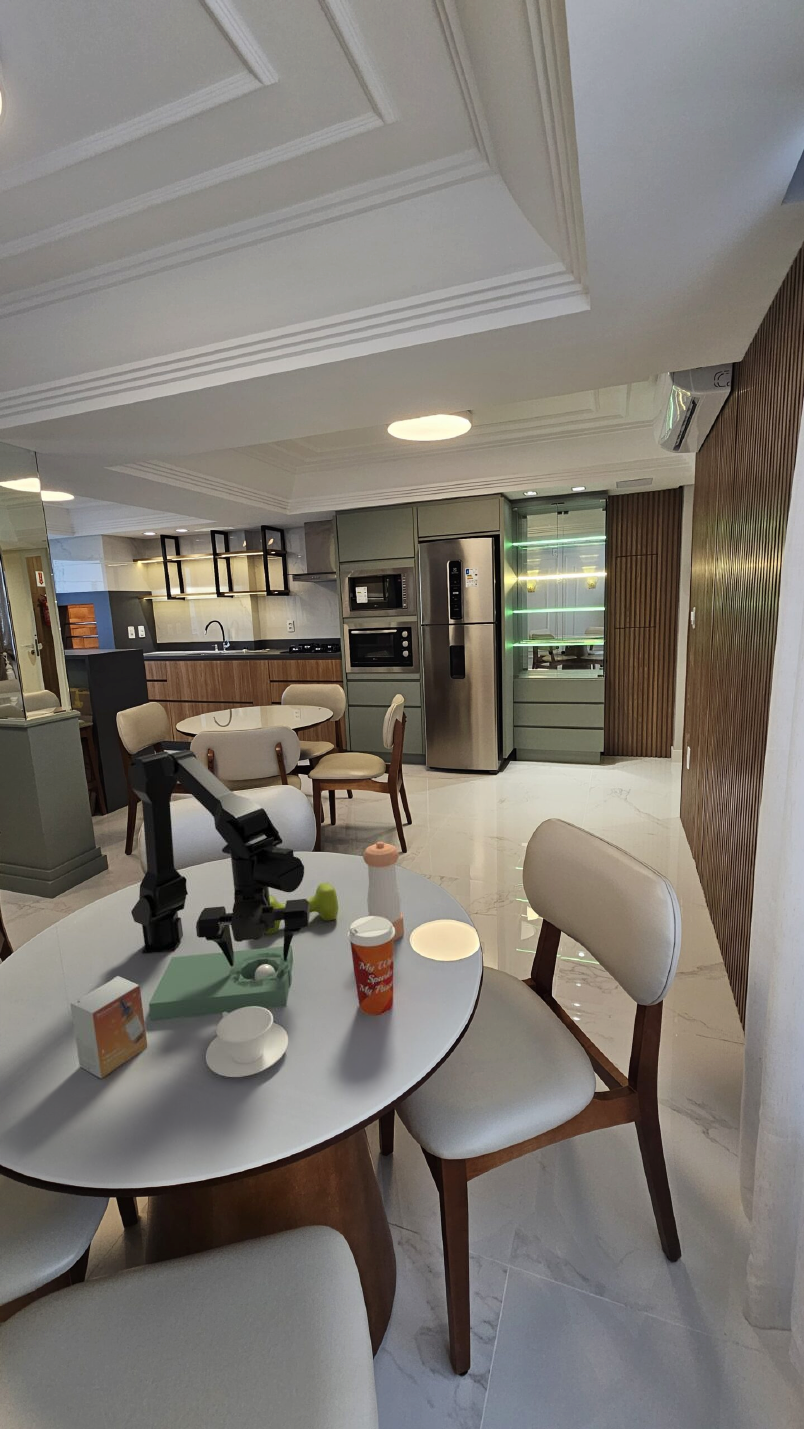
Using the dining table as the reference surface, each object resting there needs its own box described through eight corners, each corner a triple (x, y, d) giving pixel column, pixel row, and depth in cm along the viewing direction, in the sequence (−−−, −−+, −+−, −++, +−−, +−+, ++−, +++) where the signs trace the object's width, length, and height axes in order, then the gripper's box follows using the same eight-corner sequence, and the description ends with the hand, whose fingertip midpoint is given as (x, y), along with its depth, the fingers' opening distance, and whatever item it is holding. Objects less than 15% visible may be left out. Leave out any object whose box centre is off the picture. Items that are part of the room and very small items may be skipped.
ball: (264, 994, 110) (248, 982, 109) (267, 982, 113) (251, 970, 113) (278, 980, 110) (262, 967, 109) (280, 968, 113) (265, 956, 113)
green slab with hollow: (151, 1020, 103) (148, 1003, 103) (173, 972, 117) (172, 957, 117) (287, 1006, 105) (286, 989, 105) (294, 960, 119) (293, 945, 118)
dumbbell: (262, 941, 127) (259, 908, 125) (257, 923, 134) (254, 891, 133) (342, 923, 132) (339, 891, 131) (333, 907, 139) (330, 877, 138)
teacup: (247, 1020, 102) (244, 990, 101) (305, 1042, 96) (302, 1011, 95) (189, 1068, 92) (184, 1035, 91) (249, 1096, 86) (245, 1062, 85)
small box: (101, 1080, 90) (90, 1014, 89) (78, 1067, 93) (68, 1003, 92) (149, 1046, 97) (140, 984, 95) (126, 1035, 100) (118, 974, 98)
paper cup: (364, 1025, 99) (358, 943, 97) (345, 1000, 106) (339, 922, 103) (408, 1008, 103) (403, 929, 100) (387, 985, 109) (382, 910, 107)
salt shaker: (395, 944, 122) (389, 851, 119) (361, 939, 125) (355, 847, 122) (409, 926, 129) (404, 837, 126) (376, 921, 132) (371, 834, 128)
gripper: (183, 905, 99) (194, 995, 102) (302, 895, 101) (309, 984, 104) (199, 876, 110) (208, 958, 113) (306, 867, 112) (313, 948, 115)
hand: (259, 962), depth 111 cm, fingers open, 9 cm apart
